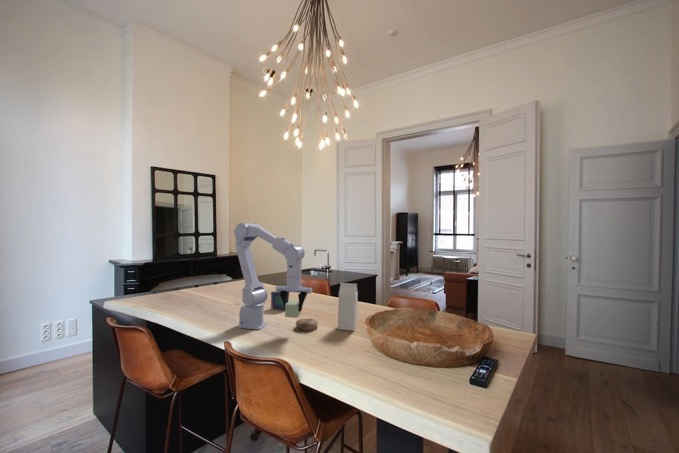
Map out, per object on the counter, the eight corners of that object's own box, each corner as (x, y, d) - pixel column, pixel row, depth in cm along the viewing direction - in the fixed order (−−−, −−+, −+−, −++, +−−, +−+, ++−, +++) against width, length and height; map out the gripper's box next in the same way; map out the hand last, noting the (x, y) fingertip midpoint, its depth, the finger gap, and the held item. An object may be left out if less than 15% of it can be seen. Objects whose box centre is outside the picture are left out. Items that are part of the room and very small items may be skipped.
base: (293, 330, 127) (293, 324, 127) (299, 323, 136) (299, 317, 136) (314, 332, 126) (314, 326, 126) (319, 325, 135) (319, 319, 135)
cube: (285, 317, 121) (285, 304, 121) (289, 313, 126) (289, 301, 126) (297, 317, 120) (297, 304, 120) (301, 313, 125) (301, 301, 125)
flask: (269, 309, 157) (270, 288, 157) (272, 307, 160) (273, 287, 160) (286, 311, 155) (287, 289, 155) (289, 309, 158) (289, 288, 158)
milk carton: (354, 331, 128) (355, 285, 128) (337, 329, 130) (338, 284, 130) (356, 325, 135) (358, 282, 135) (341, 324, 137) (342, 281, 136)
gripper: (273, 277, 120) (272, 311, 121) (309, 279, 118) (308, 314, 118) (279, 274, 127) (278, 307, 127) (313, 276, 125) (312, 309, 125)
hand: (293, 310), depth 123 cm, fingers closed on cube, 5 cm apart
